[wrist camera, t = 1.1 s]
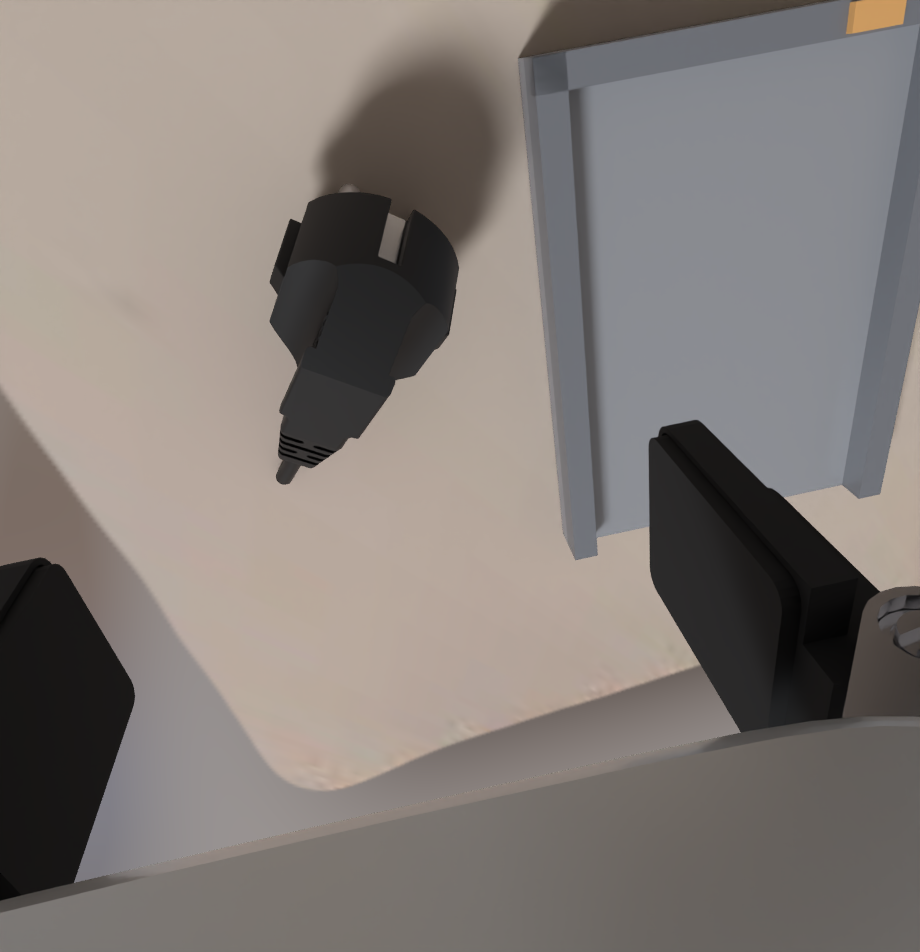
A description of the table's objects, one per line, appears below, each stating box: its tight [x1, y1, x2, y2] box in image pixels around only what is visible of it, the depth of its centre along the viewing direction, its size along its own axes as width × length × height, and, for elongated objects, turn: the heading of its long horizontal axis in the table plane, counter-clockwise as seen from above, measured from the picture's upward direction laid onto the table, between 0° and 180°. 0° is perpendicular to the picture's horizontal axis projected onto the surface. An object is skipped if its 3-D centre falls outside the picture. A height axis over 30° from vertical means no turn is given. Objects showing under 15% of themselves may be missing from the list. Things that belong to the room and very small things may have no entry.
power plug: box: [270, 184, 459, 485], centre depth 24 cm, size 6×8×12 cm
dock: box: [518, 0, 920, 560], centre depth 26 cm, size 19×14×2 cm
